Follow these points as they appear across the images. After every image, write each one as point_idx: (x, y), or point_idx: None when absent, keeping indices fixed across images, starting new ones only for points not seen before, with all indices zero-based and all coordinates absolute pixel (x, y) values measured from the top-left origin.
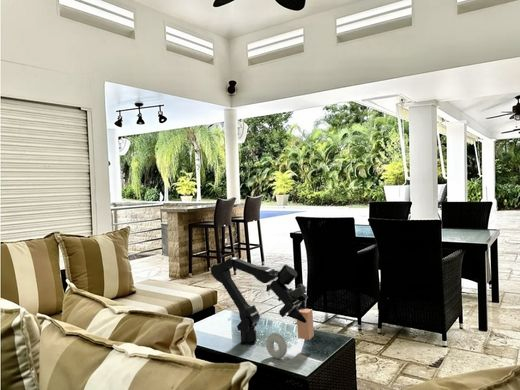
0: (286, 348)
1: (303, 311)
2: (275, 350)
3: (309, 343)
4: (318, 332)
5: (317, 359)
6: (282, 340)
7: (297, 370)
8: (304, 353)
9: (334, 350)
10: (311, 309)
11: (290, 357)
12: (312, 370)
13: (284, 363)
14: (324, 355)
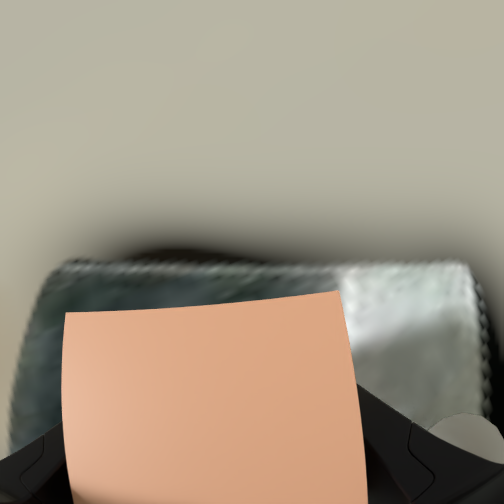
0: (456, 414)
1: (285, 447)
2: None
3: None
4: (21, 422)
5: None
6: (495, 427)
7: (463, 313)
8: None
9: (195, 276)
10: (71, 327)
11: None
12: (432, 264)
13: (446, 404)
14: (276, 292)
